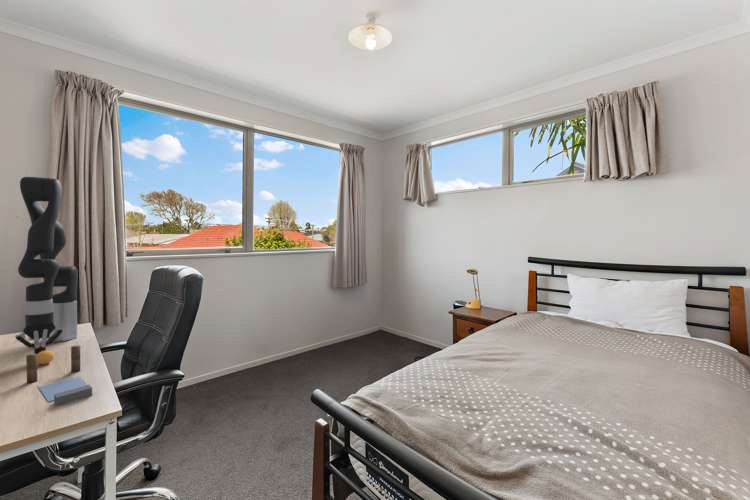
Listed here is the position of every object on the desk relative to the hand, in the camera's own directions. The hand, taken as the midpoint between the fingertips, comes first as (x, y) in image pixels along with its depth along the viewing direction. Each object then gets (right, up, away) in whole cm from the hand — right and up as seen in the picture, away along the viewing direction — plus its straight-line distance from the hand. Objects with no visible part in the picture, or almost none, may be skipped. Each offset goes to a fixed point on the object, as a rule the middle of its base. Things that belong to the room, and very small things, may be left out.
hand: (39, 356), depth 123 cm
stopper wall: (+36, -5, -25) cm, 45 cm away
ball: (+4, 0, -2) cm, 5 cm away
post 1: (+14, -3, -16) cm, 21 cm away
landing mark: (+28, -4, -20) cm, 35 cm away
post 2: (+20, -3, -7) cm, 21 cm away
